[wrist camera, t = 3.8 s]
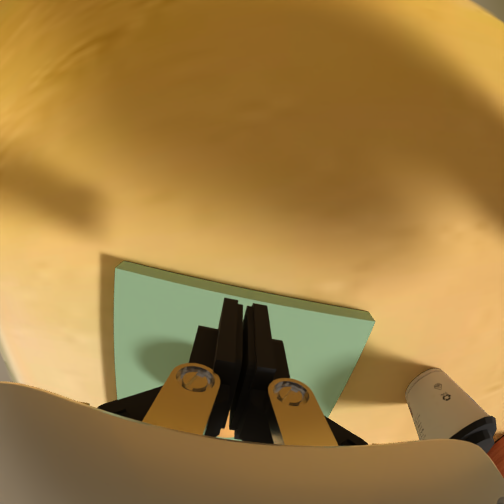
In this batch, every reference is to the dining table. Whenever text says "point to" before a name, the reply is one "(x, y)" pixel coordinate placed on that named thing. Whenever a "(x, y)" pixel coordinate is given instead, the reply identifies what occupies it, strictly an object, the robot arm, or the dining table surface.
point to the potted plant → (498, 455)
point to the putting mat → (208, 314)
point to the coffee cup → (447, 411)
